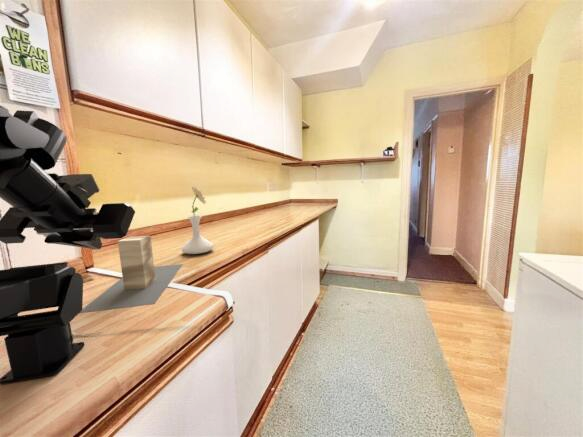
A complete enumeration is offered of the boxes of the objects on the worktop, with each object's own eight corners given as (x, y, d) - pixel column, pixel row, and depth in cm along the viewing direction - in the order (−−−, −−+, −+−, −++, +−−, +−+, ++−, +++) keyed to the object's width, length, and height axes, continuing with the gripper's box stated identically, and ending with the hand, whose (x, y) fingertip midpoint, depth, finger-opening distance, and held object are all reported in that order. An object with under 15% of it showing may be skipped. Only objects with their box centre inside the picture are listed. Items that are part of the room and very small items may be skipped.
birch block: (146, 288, 58) (139, 240, 56) (124, 289, 58) (117, 241, 56) (155, 279, 63) (150, 235, 61) (135, 281, 63) (129, 236, 61)
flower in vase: (212, 255, 86) (206, 185, 83) (178, 258, 84) (170, 186, 80) (215, 246, 99) (210, 185, 95) (185, 248, 96) (179, 186, 93)
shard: (39, 300, 56) (38, 292, 56) (32, 292, 60) (30, 286, 60) (96, 283, 65) (95, 277, 64) (86, 277, 69) (85, 272, 69)
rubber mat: (154, 306, 50) (154, 303, 50) (77, 315, 47) (77, 313, 47) (183, 265, 75) (183, 264, 75) (134, 270, 72) (133, 268, 72)
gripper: (121, 154, 40) (159, 212, 52) (-3, 157, 38) (67, 216, 50) (94, 206, 33) (145, 258, 45) (-57, 211, 31) (38, 264, 44)
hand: (99, 247), depth 46 cm, fingers closed
